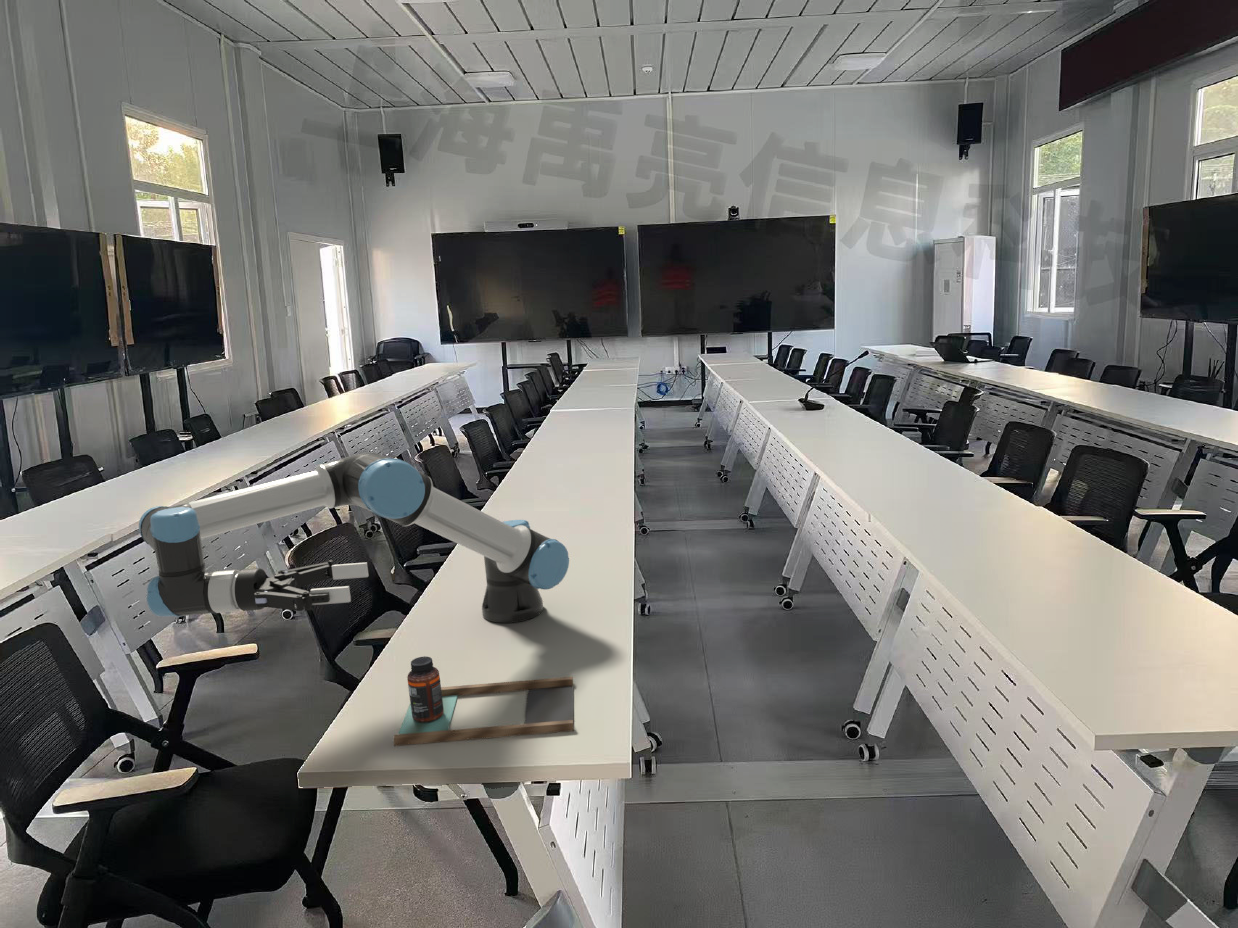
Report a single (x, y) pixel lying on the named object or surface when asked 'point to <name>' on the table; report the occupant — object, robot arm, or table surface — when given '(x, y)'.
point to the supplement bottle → (425, 690)
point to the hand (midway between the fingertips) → (359, 581)
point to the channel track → (543, 715)
